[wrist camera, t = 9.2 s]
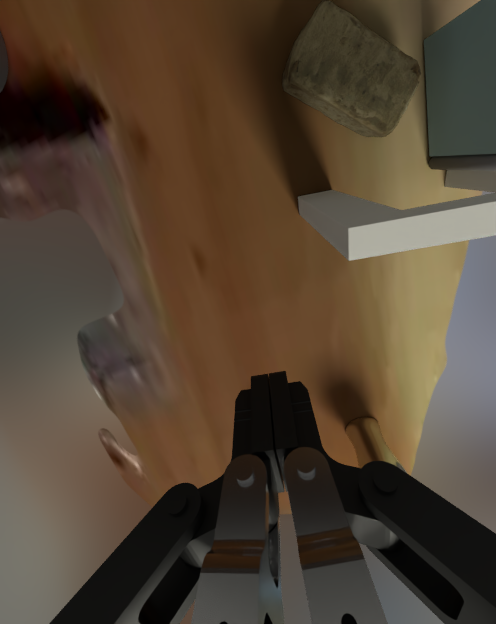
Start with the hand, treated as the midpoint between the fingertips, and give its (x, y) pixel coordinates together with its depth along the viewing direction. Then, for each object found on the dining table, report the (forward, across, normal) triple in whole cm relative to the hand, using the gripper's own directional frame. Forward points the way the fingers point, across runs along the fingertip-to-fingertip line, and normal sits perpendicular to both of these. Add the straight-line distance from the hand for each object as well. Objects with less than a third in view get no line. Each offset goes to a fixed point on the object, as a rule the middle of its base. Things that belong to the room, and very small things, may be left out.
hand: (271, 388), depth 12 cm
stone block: (+26, -11, -14) cm, 31 cm away
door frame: (+26, -16, -3) cm, 30 cm away
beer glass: (+26, -12, +38) cm, 48 cm away
